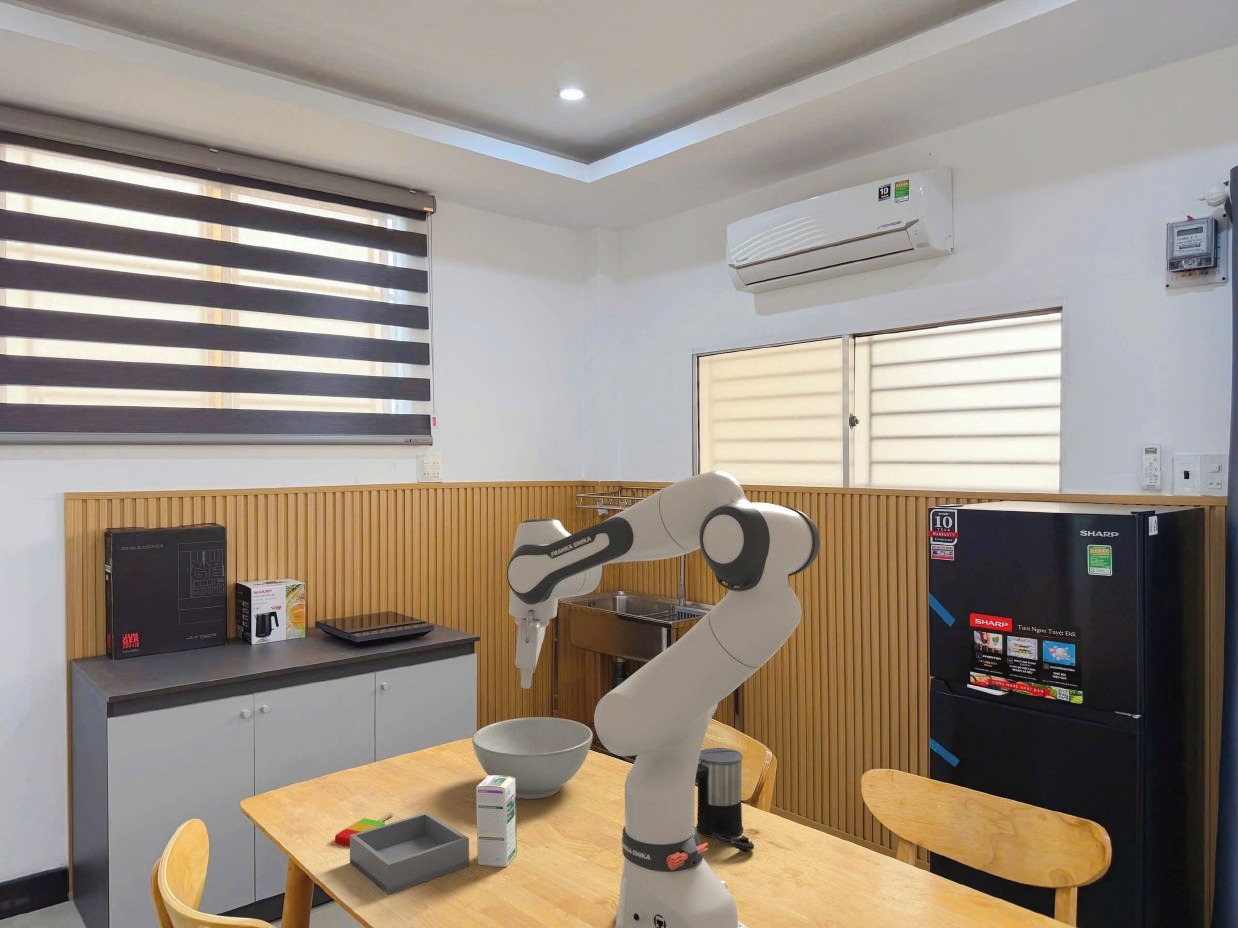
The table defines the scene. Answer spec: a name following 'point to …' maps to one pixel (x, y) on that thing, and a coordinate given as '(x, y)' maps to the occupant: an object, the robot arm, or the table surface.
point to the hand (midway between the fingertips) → (528, 679)
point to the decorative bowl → (533, 752)
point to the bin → (408, 852)
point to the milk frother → (721, 797)
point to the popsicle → (359, 829)
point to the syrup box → (496, 820)
